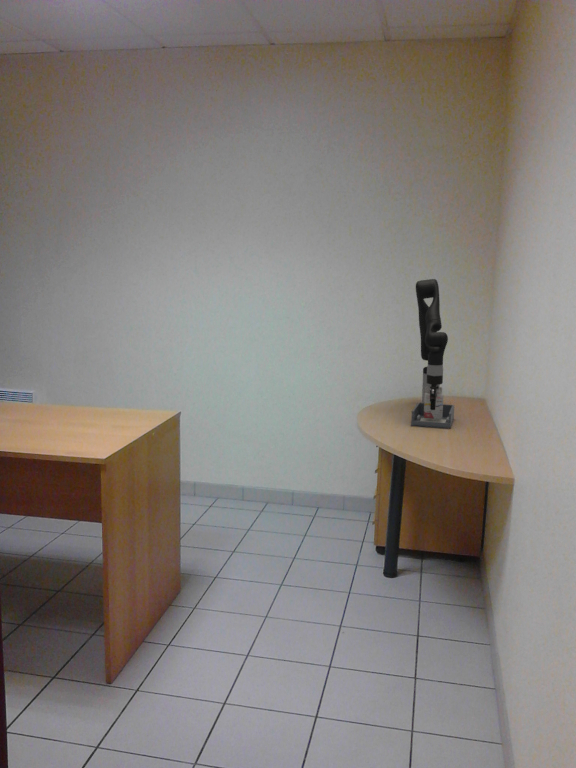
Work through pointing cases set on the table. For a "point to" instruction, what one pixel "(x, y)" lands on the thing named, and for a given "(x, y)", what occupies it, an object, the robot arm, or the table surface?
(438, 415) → the ink cartridge box
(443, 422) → the walled box
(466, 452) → the table surface
